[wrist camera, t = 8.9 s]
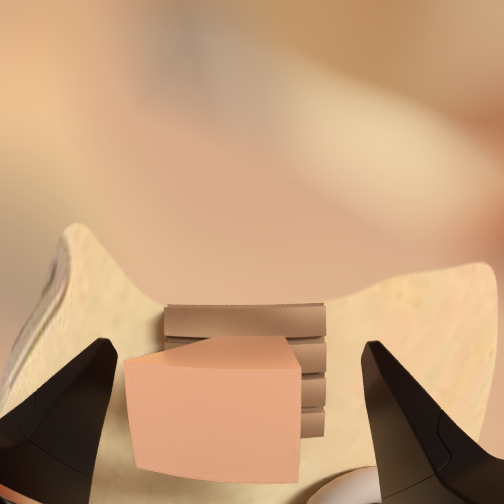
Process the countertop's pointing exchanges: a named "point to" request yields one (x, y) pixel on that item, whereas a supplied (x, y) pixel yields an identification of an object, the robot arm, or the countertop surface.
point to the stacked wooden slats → (264, 324)
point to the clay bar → (217, 410)
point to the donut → (350, 489)
